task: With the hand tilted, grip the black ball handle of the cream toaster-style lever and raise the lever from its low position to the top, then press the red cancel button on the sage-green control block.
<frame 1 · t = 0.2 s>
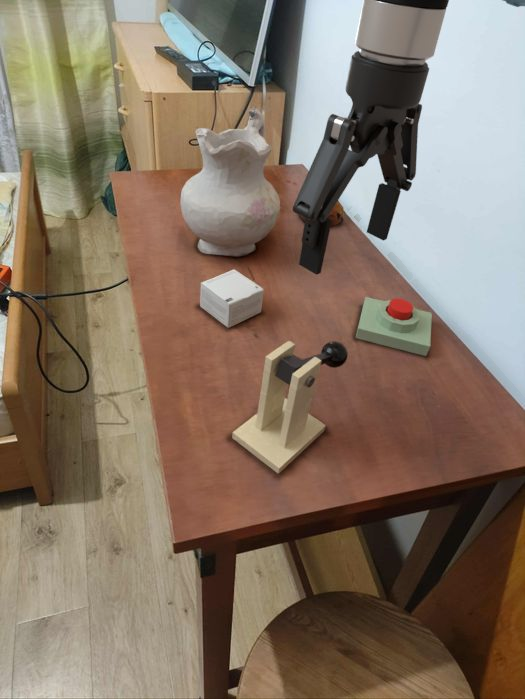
hand: (345, 251, 62), 23 cm above the table, tool pointing down, fingers open, 13 cm apart
lever: (315, 361, 65), point 10 cm above the table, hinge at -20.0°
button block: (392, 330, 89), on the table
toaster bracket: (279, 434, 69), on the table
bread roll: (321, 219, 120), on the table
button: (400, 309, 86), point 4 cm above the table, slide at 0.1 cm
ceramic pitcher: (229, 241, 107), on the table
small box: (230, 310, 89), on the table
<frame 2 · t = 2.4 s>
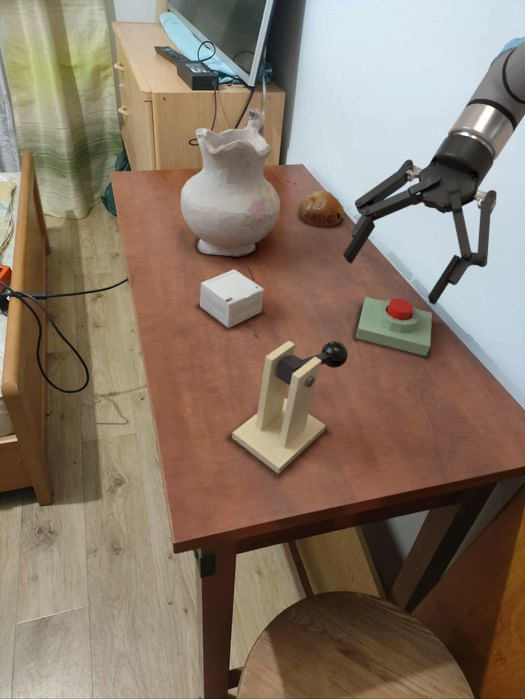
hand: (387, 279, 71), 16 cm above the table, tool tilted 45°, fingers open, 13 cm apart
nothing on the table moved.
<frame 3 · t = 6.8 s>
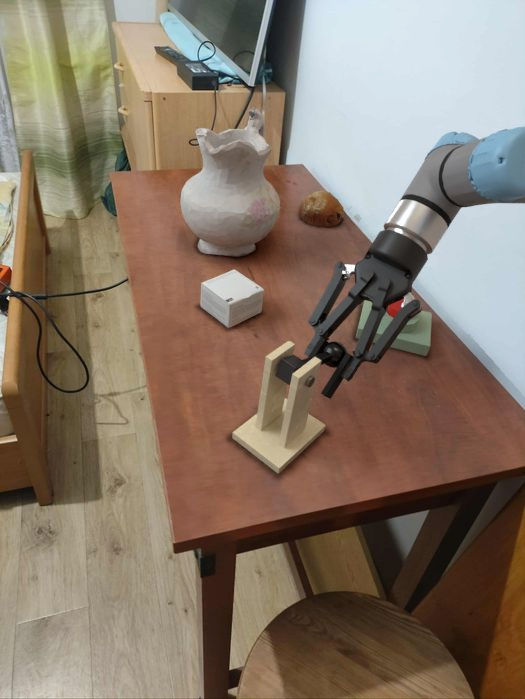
hand: (313, 387, 70), 4 cm above the table, tool tilted 45°, fingers closed on lever, 4 cm apart
lever: (315, 361, 65), point 10 cm above the table, hinge at -20.0°, touching gripper
everything else where it was.
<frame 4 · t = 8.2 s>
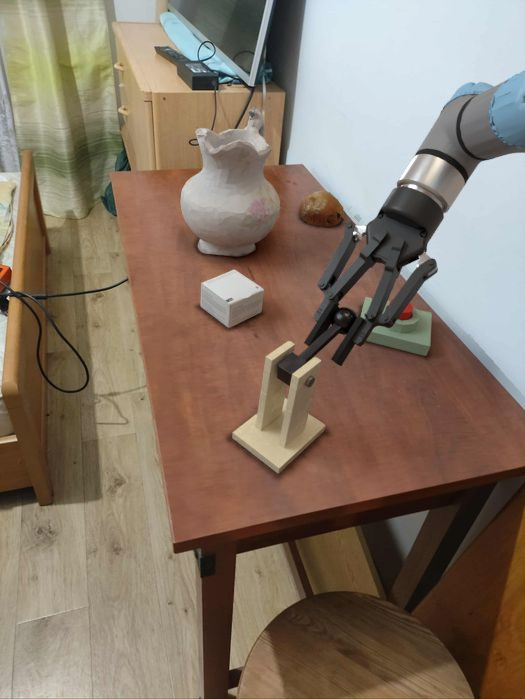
hand: (322, 354, 66), 10 cm above the table, tool tilted 45°, fingers closed on lever, 4 cm apart
lever: (320, 343, 64), point 13 cm above the table, hinge at 9.4°, touching gripper
everything else where it was.
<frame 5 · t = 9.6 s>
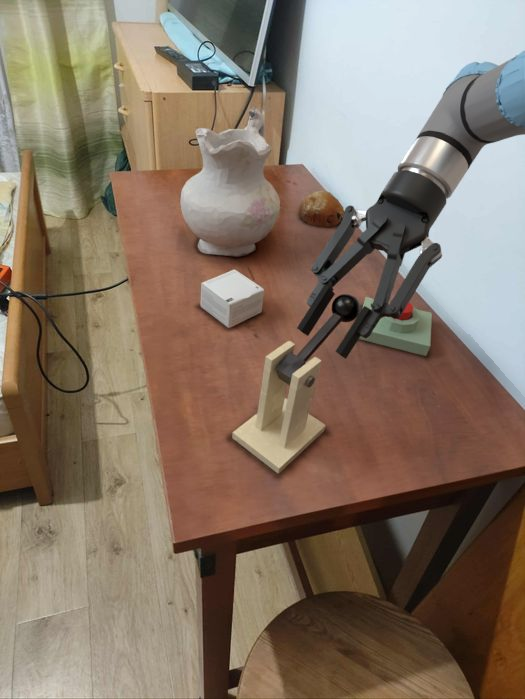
hand: (321, 343, 64), 13 cm above the table, tool tilted 45°, fingers open, 5 cm apart
lever: (320, 336, 63), point 14 cm above the table, hinge at 22.4°
everything else where it was.
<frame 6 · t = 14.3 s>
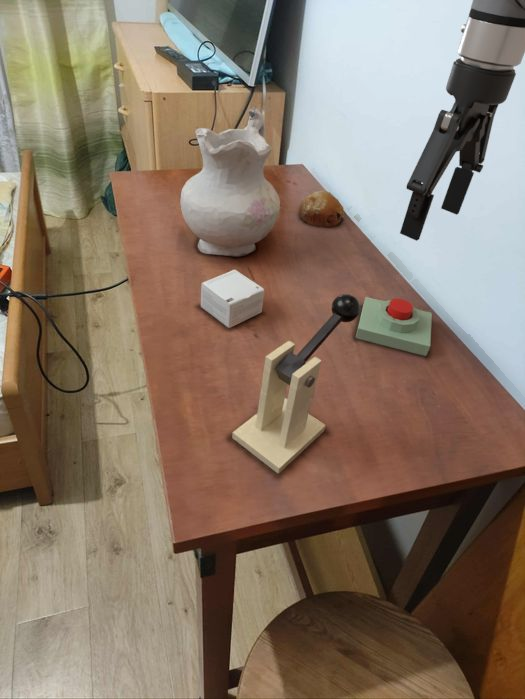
hand: (430, 223, 76), 20 cm above the table, tool pointing down, fingers open, 13 cm apart
nothing on the table moved.
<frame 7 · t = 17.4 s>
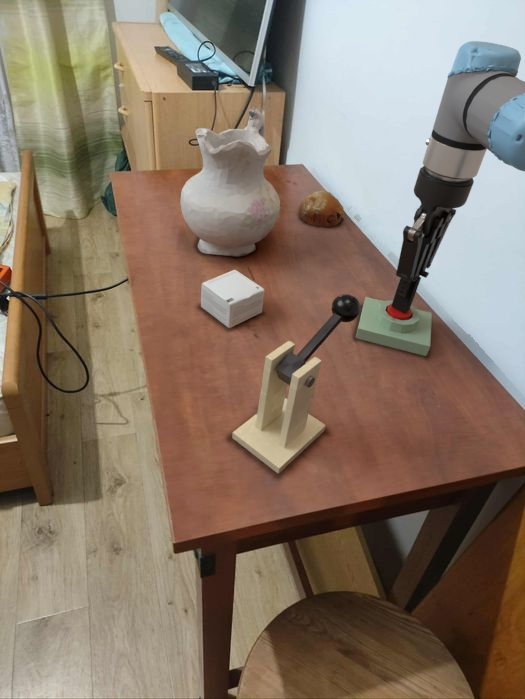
hand: (400, 308, 86), 5 cm above the table, tool pointing down, fingers closed
button: (398, 313, 87), point 4 cm above the table, slide at -0.8 cm, touching gripper
everything else where it was.
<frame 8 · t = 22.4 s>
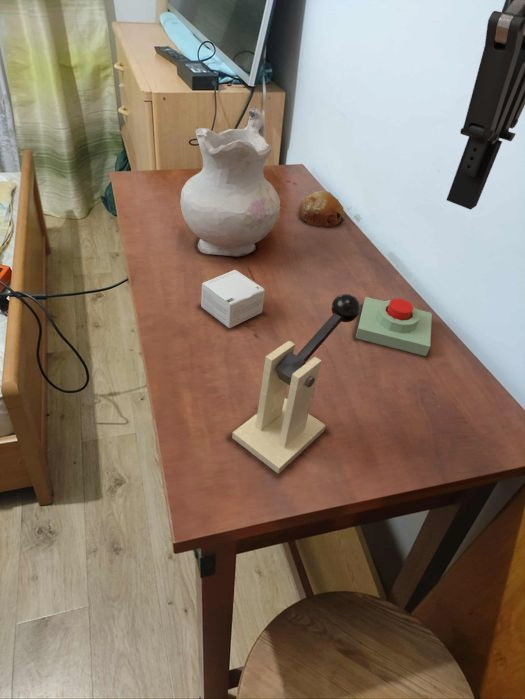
hand: (461, 202, 52), 32 cm above the table, tool pointing down, fingers closed
button: (400, 309, 86), point 4 cm above the table, slide at 0.1 cm
everything else where it was.
at the end: lever at +22° (first picture: -20°); button pushed in 1.0 cm at the most during the clip, back to where it started at the end; button slide at 0.1 cm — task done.
